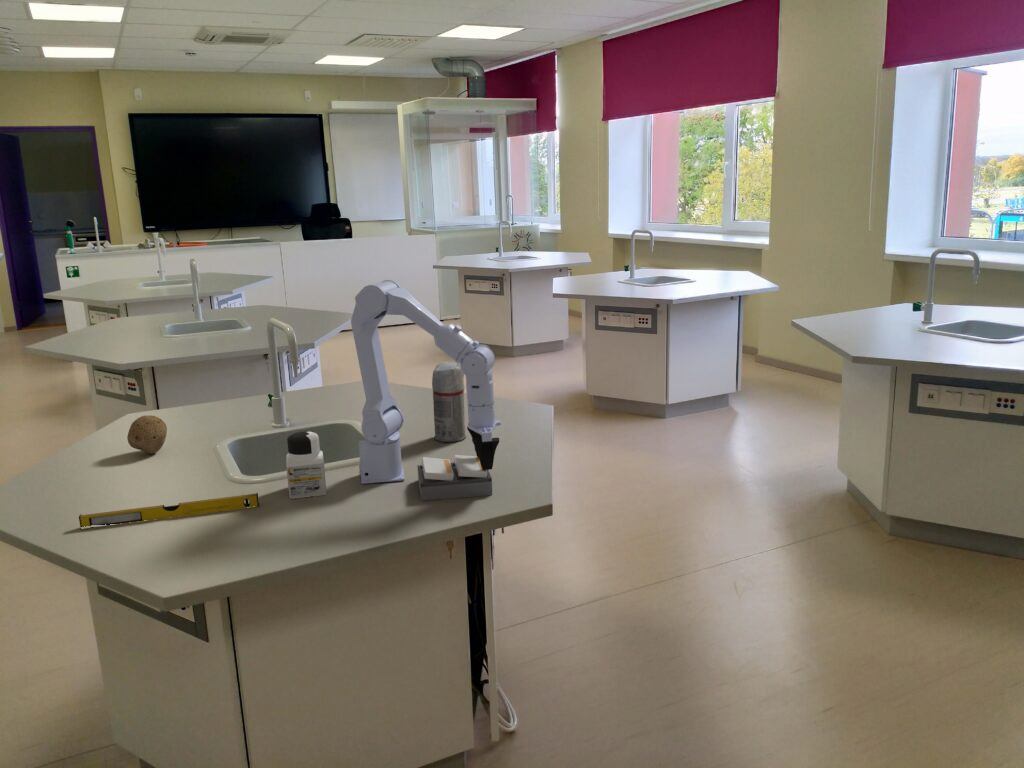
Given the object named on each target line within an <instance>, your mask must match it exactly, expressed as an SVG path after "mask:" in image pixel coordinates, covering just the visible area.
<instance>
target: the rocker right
mask: <svg viewBox="0 0 1024 768" xmlns="http://www.w3.org/2000/svg"><path fill="white" fill-rule="evenodd" d="M453 459H454V460H453V461H454V462H453V463H455V465H456V469H457V472H458V475H459V476H464V477H482V478H487V470H482V467H481V464H480V460H479V458H478V457H477V455H476V456H475V455H460V454H455V455H454V458H453Z"/></svg>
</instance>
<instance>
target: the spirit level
mask: <svg viewBox="0 0 1024 768" xmlns="http://www.w3.org/2000/svg"><path fill="white" fill-rule="evenodd" d="M253 506H259V507H260V502H259V493H258V492H255V493H251V494H241V495H233V496H225V497H215V498H209V499H202V500H201V499H200V500H193V501H185V502H178V504H177V505H176V504H175V505H167V506H165V505H164V504H162V505H161V504H159V505H154V506H152V505H151V506H145V507H144V506H143V507H136V508H127V509H122V510H121V509H119V510H112V511H106V512H105V511H104V512H96V513H90V514H89V513H88V514H79V516H78V519H79V520H78V522H79V527H84V526H85V527H86V526H91V525H105V524H106V525H110V524H120V523H121V525H123V524H122V523H129V522H136V523H138V522H137V521H144V520H152V521H155V520H154V519H160V520H164V519H163V518H168V519H170V518H169V517H175V518H179V517H178V516H183V517H188V516H187V515H191V516H196V515H197V514H199V515H204V514H205V513H206V514H212V512H214V513H219V512H218V511H222V512H226V511H225V510H230V511H234V510H233V509H237V510H242V509H241V508H245V509H248V508H247V507H253ZM253 508H254V507H253ZM206 514H205V515H206ZM197 516H198V515H197ZM144 522H145V521H144ZM129 524H130V523H129Z"/></svg>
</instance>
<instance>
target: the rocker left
mask: <svg viewBox="0 0 1024 768" xmlns="http://www.w3.org/2000/svg"><path fill="white" fill-rule="evenodd" d="M421 459H422V460H421V465H422V467H423V473H424V478H425V479H435V480H447V481H453V477H454V474H453V470H452V467H451V463H452V462H451V459H449V458H439V457H438V458H437V457H427V456H426V457H424V456H423V457H422V458H421Z"/></svg>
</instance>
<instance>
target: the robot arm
mask: <svg viewBox="0 0 1024 768" xmlns="http://www.w3.org/2000/svg"><path fill="white" fill-rule="evenodd" d="M354 301H355V305H354V308H353V312H352V314H351V315H352V316H351V319H350V323H351V330H352V334H353V340H354V345H355V349H356V354H357V355H356V356H357V360H358V365H359V366H358V367H359V369H360V370H359V371H360V376H361V380H362V384H363V390H364V396H365V403H364V405H363V408H362V410H361V411H362V412H361V414H362V422H361V425H360V426H361V428H360V429H361V430H360V431H361V433H362V435H363V437H364V438H365V439H364V440H359V441H358V451H359V452H358V455H359V465H358V469H359V470H358V472H359V474H360V483H361V484H362V485H363V484H377V483H387V482H400V481H405V472H404V471H405V470H404V467H403V464H402V449H401V435H400V429H402V427H403V425H404V418H405V417H404V415H403V412H402V410H400V408H399V406H398V402H397V399H396V398H395V397H393V396H392V395H391V392H390V385H389V381H388V375H387V371H386V364H385V361H384V359H385V358H384V355H383V349H382V344H381V339H380V334H379V329H378V325H379V324H380V323H381V322H382V321H383V319H384V318H385V317H386V315H388V316H392V315H393V316H404V317H405V318H406V319H408V320H409V321H411V322H412V323H413V324H416V325H417V326H418V327H419V328H421V329H422V330H424V331H426V333H428V334H429V335H431V336H432V337H433V341H434V345H435V346H436V347H437V348H438V349H440V351H443V352H444V353H445V354H446V355H448V356H449V357H450V358H451V359H452V360H454V362H458V363H459V364H460V367H461V370H462V372H463V373H464V376H465V382H466V383H465V386H466V399H467V401H466V402H467V415H468V417H467V418H468V423H467V427H466V430H467V431H468V433H469V434H470V437H471V442H472V444H473V446H474V451H475V454H476V456H477V457H478V458H479V460H480V464H481V467H482V470H488V471H489V470H492V469H493V468H494V467H493V466H494V462H495V461H494V460H495V454H496V450H497V447H498V446H499V443H500V438H499V437H493V436H492V435H493V434H492V433H493V431H494V430H495V428H496V427H497V426H501V425H502V422H501V420H500V419H496V413H495V412H496V411H495V395H494V392H495V391H494V379H493V370H492V368H493V367H494V365H495V363H496V356H495V353H494V352H493V350H492V349H491V348H490V346H488V345H487V344H480V342H479V341H478V340H474V339H472V338H471V337H470V336H468V335H467V334H465V333H464V332H463V331H462V330H463V328H462V327H461V326H460V325H459V324H457V325H455V324H453V323H448V324H447V323H445V324H444V323H443V322H442V321H441V320H439V318H438V317H436V316H435V315H434V314H433V313H432V312H431V311H429V310H428V308H426V307H425V306H424V305H423V304H421V303H420V302H419V301H418V300H417V299H416V298H414V297H413V296H412V295H411V293H410V292H409V291H408V289H407V288H404V287H403V286H400V284H399V283H398V282H397V281H395V280H392V279H386V280H382V281H381V282H378V283H374V284H368V285H366V286H364V287H363V288H362V289H361V290H360V291H359V292H358V293H357V294H356V295H355V298H354Z"/></svg>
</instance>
